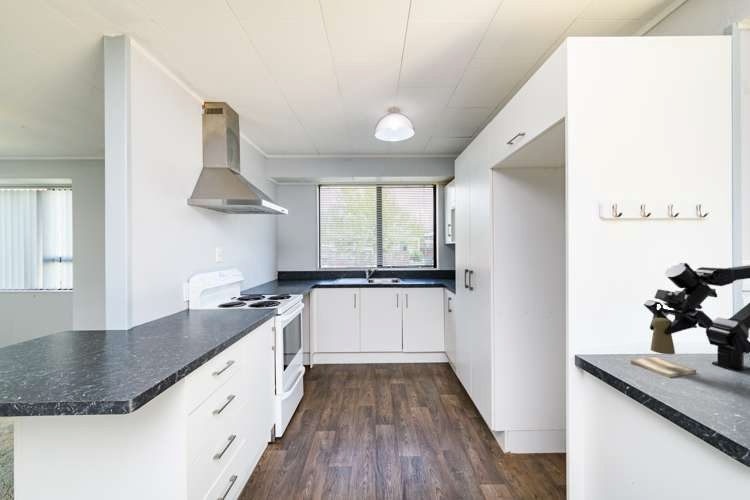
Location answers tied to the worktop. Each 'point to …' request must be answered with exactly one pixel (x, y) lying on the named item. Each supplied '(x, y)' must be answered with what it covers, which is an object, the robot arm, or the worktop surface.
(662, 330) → the cork
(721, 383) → the worktop surface
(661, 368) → the birch trivet
